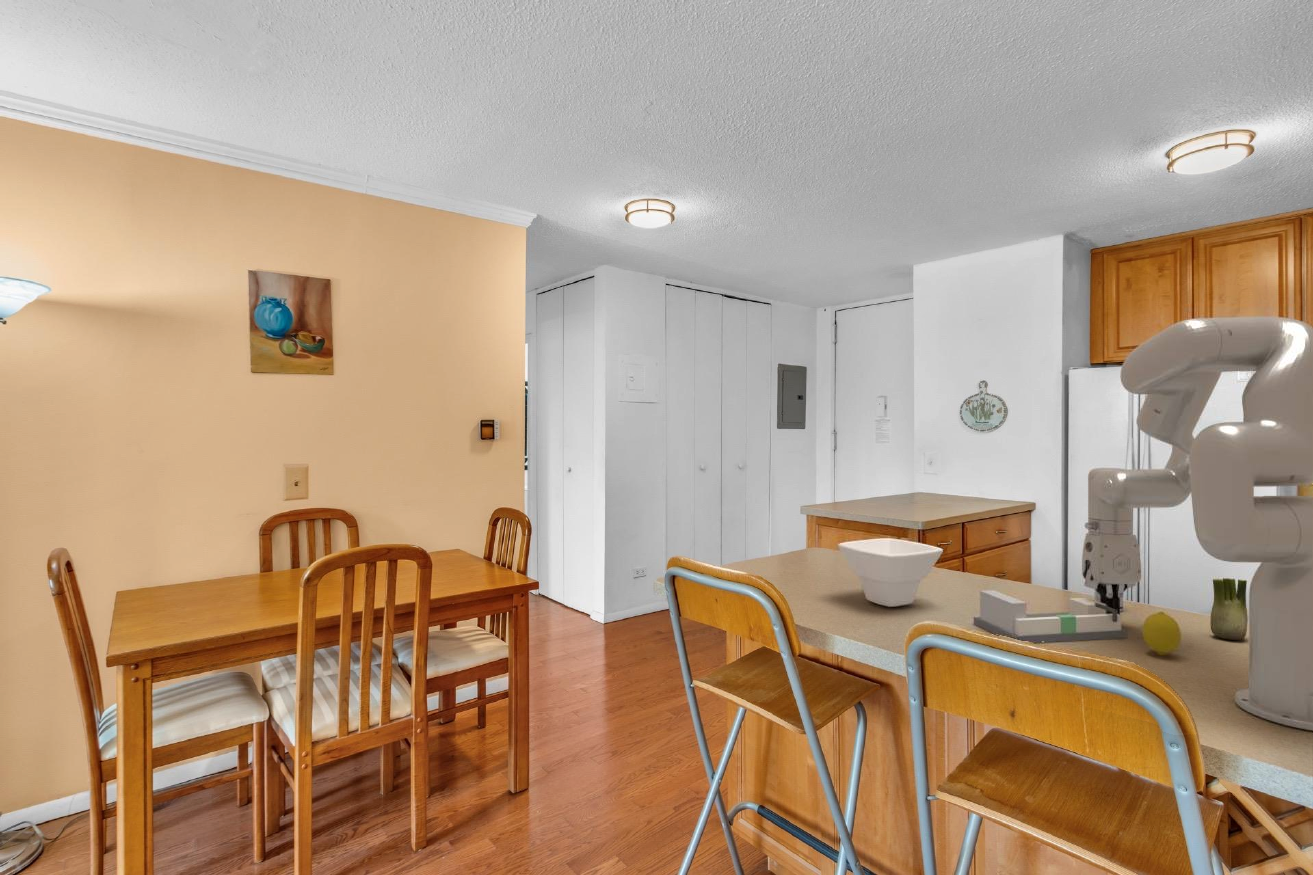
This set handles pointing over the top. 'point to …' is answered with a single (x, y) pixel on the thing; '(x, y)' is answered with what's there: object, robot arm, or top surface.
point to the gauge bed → (1042, 622)
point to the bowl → (890, 567)
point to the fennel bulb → (1229, 609)
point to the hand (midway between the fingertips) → (1110, 615)
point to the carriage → (1089, 607)
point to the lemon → (1161, 633)
